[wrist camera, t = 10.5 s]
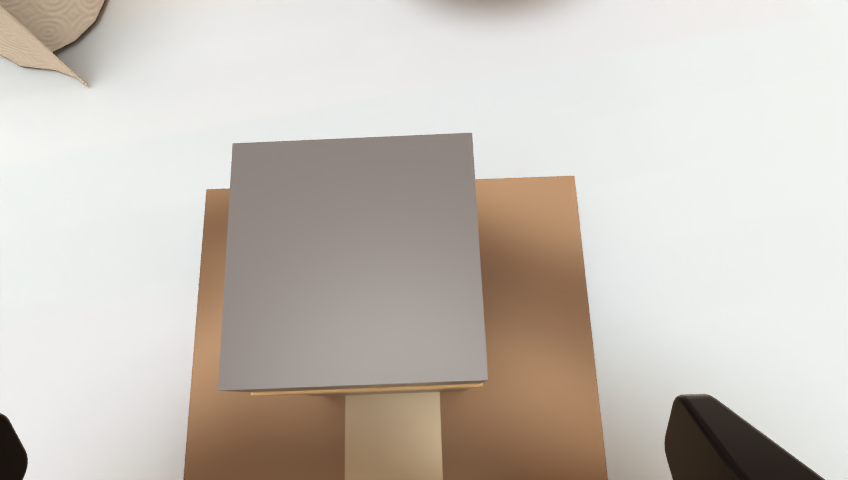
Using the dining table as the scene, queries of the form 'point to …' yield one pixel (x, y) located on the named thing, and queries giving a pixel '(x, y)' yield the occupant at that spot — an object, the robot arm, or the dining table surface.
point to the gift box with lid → (353, 268)
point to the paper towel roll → (43, 30)
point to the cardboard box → (429, 411)
